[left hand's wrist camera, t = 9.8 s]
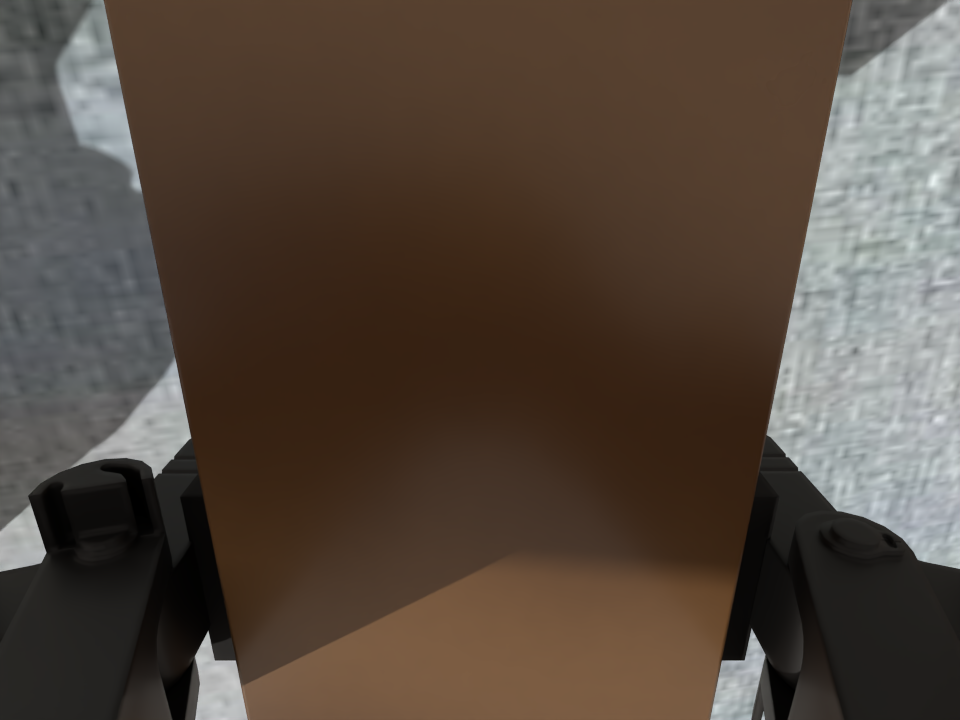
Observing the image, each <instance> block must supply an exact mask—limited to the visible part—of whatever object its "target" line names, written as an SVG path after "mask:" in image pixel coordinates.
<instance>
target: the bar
mask: <svg viewBox="0 0 960 720" xmlns="http://www.w3.org/2000/svg"><path fill="white" fill-rule="evenodd" d="M104 4H105V9H106V14H107V19H108V24H109V29H110V34H111V39H112V44H113V49H114V54H115V59H116V64H117V69H118V74H119V79H120V84H121V89H122V94H123V99H124V104H125V109H126V114H127V119H128V124H129V129H130V134H131V139H132V144H133V149H134V154H135V159H136V164H137V169H138V174H139V179H140V184H141V188H142V193H143V198H144V203H145V208H146V213H147V218H148V223H149V228H150V233H151V238H152V243H153V248H154V253H155V258H156V263H157V268H158V273H159V278H160V283H161V288H162V293H163V298H164V303H165V308H166V313H167V318H168V323H169V328H170V333H171V338H172V343H173V348H174V353H175V358H176V363H177V368H178V373H179V378H180V383H181V388H182V393H183V398H184V403H185V408H186V413H187V418H188V423H189V428H190V433H191V438H192V443H193V448H194V453H195V458H196V463H197V468H198V473H199V478H200V483H201V488H202V493H203V498H204V503H205V508H206V513H207V518H208V523H209V528H210V533H211V538H212V543H213V548H214V553H215V558H216V563H217V568H218V573H219V578H220V583H221V588H222V593H223V598H224V603H225V608H226V613H227V618H228V623H229V628H230V633H231V638H232V643H233V648H234V653H235V658H236V663H237V668H238V673H239V678H240V683H241V688H242V693H243V698H244V703H245V708H246V713H247V718H248V720H710V717H711V712H712V707H713V702H714V697H715V692H716V687H717V682H718V677H719V672H720V667H721V662H722V656H723V651H724V646H725V641H726V636H727V631H728V626H729V621H730V616H731V611H732V606H733V601H734V596H735V591H736V586H737V581H738V576H739V571H740V566H741V561H742V555H743V550H744V545H745V540H746V535H747V530H748V525H749V520H750V515H751V510H752V505H753V500H754V495H755V490H756V485H757V480H758V475H759V470H760V465H761V460H762V454H763V449H764V444H765V439H766V434H767V429H768V424H769V419H770V414H771V409H772V404H773V399H774V394H775V389H776V384H777V379H778V374H779V369H780V364H781V359H782V353H783V348H784V343H785V338H786V333H787V328H788V323H789V318H790V313H791V308H792V303H793V298H794V293H795V288H796V283H797V278H798V273H799V268H800V263H801V258H802V252H803V247H804V242H805V237H806V232H807V227H808V222H809V217H810V212H811V207H812V202H813V197H814V192H815V187H816V182H817V177H818V172H819V167H820V162H821V157H822V151H823V146H824V141H825V136H826V131H827V126H828V121H829V116H830V111H831V106H832V101H833V96H834V91H835V86H836V81H837V76H838V71H839V66H840V61H841V56H842V50H843V45H844V40H845V35H846V30H847V25H848V20H849V15H850V10H851V5H852V0H104Z"/></svg>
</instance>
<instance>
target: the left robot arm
mask: <svg viewBox="0 0 960 720" xmlns="http://www.w3.org/2000/svg"><path fill="white" fill-rule="evenodd" d="M28 497H29V500H30V503H31V506H32V509H33V512H34V515H35V518H36V521H37V525H38V528H39V531H40V534H41V537H42V540H43V543H44V546H45V549H46V552H47V553H46V555H45V557H44V559H43V561H42V563H40V564H37V565H32V566H27V567H22V568H17V569H12V570H7V571H2V572H0V720H195V716H196V709H197V701H198V693H199V686H200V681H199V674H198V668H197V664H196V660H195V655H196V653H197V651H198V649H199V647H200V645H201V643H202V641H203V640H204V638H205V636H206V634H207V632H208V630H209V635H210V639H211V644H212V649H213V653H214V658H215V660H236V658H235V653H234V648H233V643H232V638H231V633H230V628H229V623H228V618H227V613H226V608H225V603H224V598H223V593H222V588H221V583H220V578H219V573H218V568H217V563H216V558H215V553H214V548H213V543H212V538H211V533H210V528H209V523H208V518H207V513H206V508H205V503H204V498H203V493H202V488H201V483H200V478H199V473H198V468H197V463H196V458H195V453H194V448H193V443H192V438H191V439H190V440H188V442H187V443H186V444H185V445H184V446H183V447H182V448H181V449H180V451H179V452H178V453H177V454H176V455H175V456H174V460H171V461H170V462H169V463H168V464H167V465H166V466H165V467H164V468H163V470H162V474H158V475H157V476H156V477H155V479H154V477H153V473H152V469H151V467H150V466H148V465H147V464H145V463H144V462H143V461H139V460H134V459H128V458H119V459H104V460H99V461H95V462H90V463H85V464H81V465H79V466H76V467H73V468H71V469H68V470H65V471H63V472H60V473H58V474H56V475H55V476H53V477H51V478H49V479H48V480H46V481H44V482H43V483H41V484H40V485H39V486H38V487H37V488H36V489H35V490H34V491H33V492H32V493H31V494H30V495H29V496H28ZM751 628H752V630H753V631H754V633H755V635H756V637H757V639H758V641H759V643H760V645H761V647H762V648H763V650H764V652H765V654H766V655H765V660H764V664H763V668H762V673H761V677H760V681H759V686H758V690H757V694H756V699H755V703H754V707H753V713H752V720H761V718H762V714H763V711H764V715H765V720H960V569H957V568H952V567H947V566H942V565H937V564H932V563H927V562H923V561H919V560H917V558H916V556H915V554H914V552H913V551H912V550H911V549H910V547H909V546H908V545H907V544H906V543H905V541H904V540H903V539H902V538H901V537H899V536H898V535H896V534H895V533H893V532H892V531H890V530H889V529H887V528H886V527H884V526H882V525H880V524H878V523H875V522H873V521H871V520H869V519H866V518H864V517H861V516H857V515H853V514H849V513H845V512H839V511H836V510H835V508H834V507H833V506H832V505H831V504H830V503H829V502H828V501H827V500H826V498H825V497H824V496H823V495H822V494H821V493H820V492H819V491H818V490H817V488H816V487H815V486H814V485H813V484H812V483H811V482H810V481H809V480H808V478H807V477H806V476H805V475H804V474H803V473H802V472H801V471H798V467H797V466H796V465H795V464H794V463H793V462H792V461H791V459H790V458H789V457H786V454H785V453H784V452H783V451H782V449H781V448H780V447H779V446H778V445H777V444H776V443H775V442H774V441H773V439H772V438H771V437H769V436H767V435H766V439H765V444H764V449H763V454H762V460H761V465H760V470H759V475H758V480H757V485H756V490H755V495H754V500H753V505H752V510H751V515H750V520H749V525H748V530H747V535H746V540H745V545H744V550H743V555H742V561H741V566H740V571H739V576H738V581H737V586H736V591H735V596H734V601H733V606H732V611H731V616H730V621H729V626H728V631H727V636H726V641H725V646H724V651H723V656H722V660H745V656H746V651H747V647H748V642H749V637H750V633H751Z"/></svg>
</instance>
